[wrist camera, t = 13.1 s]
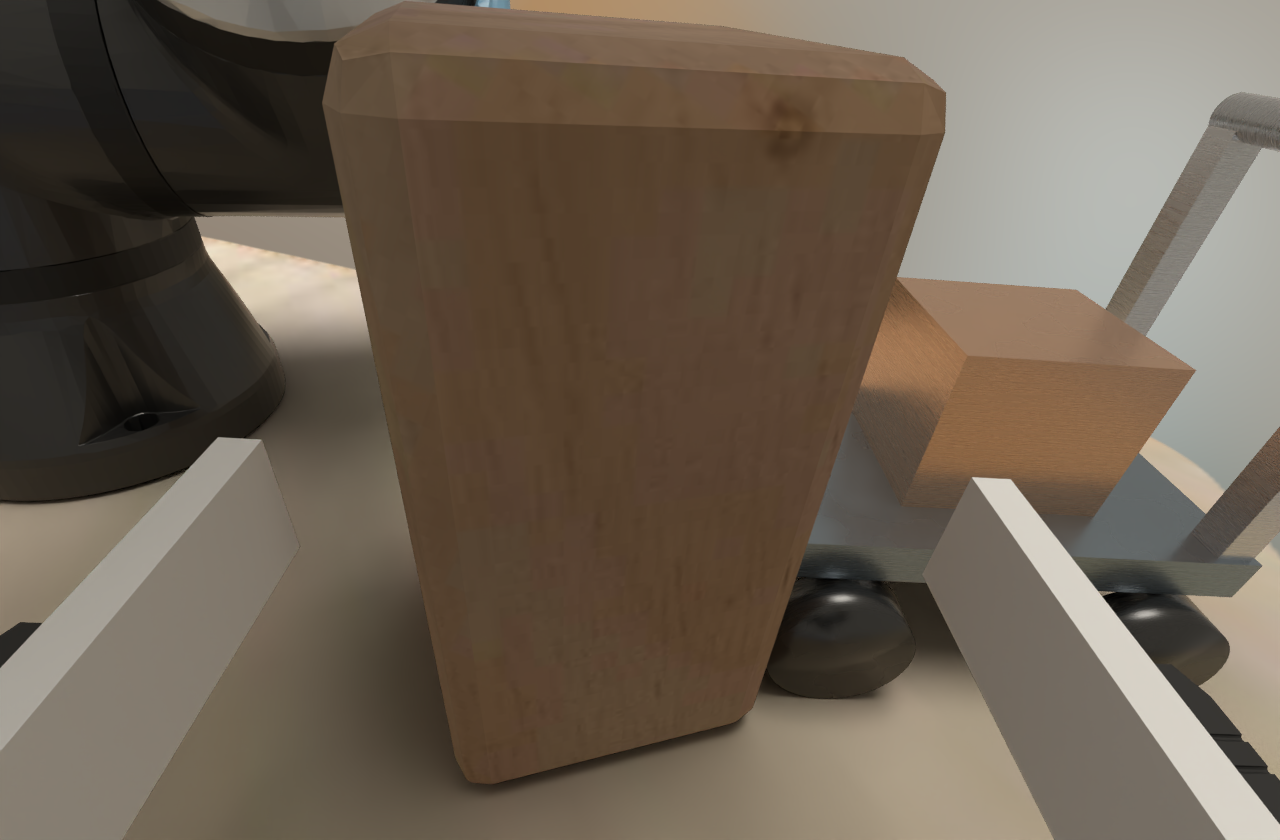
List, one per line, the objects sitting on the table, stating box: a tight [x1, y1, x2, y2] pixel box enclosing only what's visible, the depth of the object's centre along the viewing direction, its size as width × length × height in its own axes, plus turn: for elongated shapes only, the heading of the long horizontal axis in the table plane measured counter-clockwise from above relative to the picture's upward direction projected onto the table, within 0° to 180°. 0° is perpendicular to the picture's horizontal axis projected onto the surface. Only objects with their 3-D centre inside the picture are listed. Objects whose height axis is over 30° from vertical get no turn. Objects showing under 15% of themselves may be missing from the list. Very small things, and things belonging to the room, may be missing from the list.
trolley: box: [767, 92, 1280, 698], centre depth 22 cm, size 16×13×19 cm
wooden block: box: [322, 1, 946, 784], centre depth 18 cm, size 10×10×20 cm
